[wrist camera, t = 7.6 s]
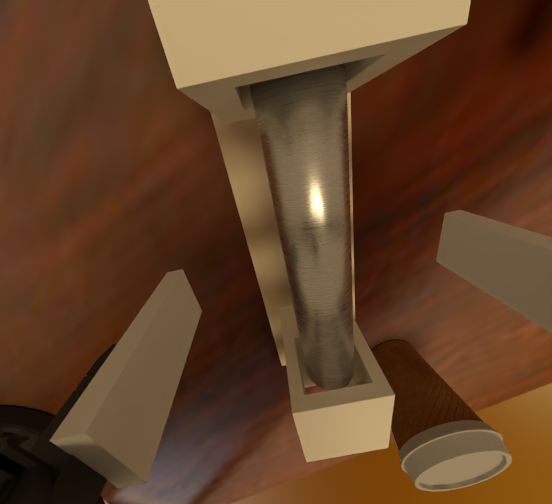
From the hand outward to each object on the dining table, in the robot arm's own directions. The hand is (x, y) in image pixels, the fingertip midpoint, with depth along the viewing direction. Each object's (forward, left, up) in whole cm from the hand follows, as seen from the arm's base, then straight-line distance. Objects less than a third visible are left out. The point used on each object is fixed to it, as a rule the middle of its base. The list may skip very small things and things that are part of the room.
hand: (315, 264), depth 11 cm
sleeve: (0, -14, -10) cm, 17 cm away
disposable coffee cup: (+10, -23, -10) cm, 27 cm away
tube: (0, +1, -4) cm, 4 cm away
